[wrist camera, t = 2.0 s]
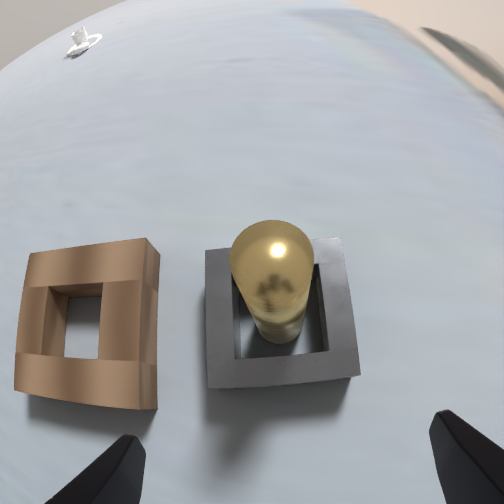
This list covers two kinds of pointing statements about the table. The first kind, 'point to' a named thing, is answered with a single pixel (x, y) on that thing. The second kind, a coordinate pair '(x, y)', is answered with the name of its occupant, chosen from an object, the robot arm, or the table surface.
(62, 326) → the wooden square frame
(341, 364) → the socket block
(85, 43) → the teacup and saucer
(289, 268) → the brass cylinder
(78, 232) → the table surface
